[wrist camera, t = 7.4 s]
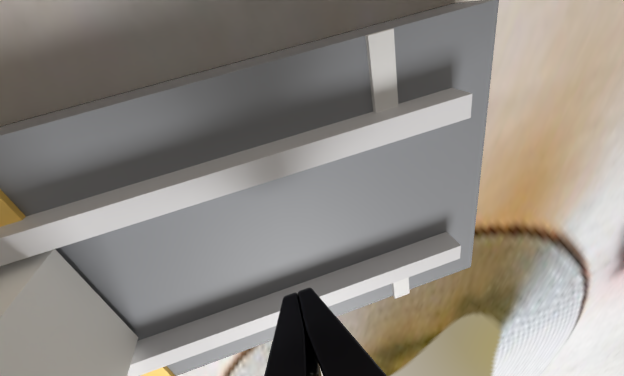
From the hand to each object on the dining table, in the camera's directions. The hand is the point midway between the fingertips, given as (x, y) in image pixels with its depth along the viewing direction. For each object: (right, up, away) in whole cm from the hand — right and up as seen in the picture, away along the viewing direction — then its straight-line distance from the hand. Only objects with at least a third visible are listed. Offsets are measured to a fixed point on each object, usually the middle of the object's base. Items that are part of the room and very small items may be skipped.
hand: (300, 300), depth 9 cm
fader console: (-4, +2, +4) cm, 6 cm away
